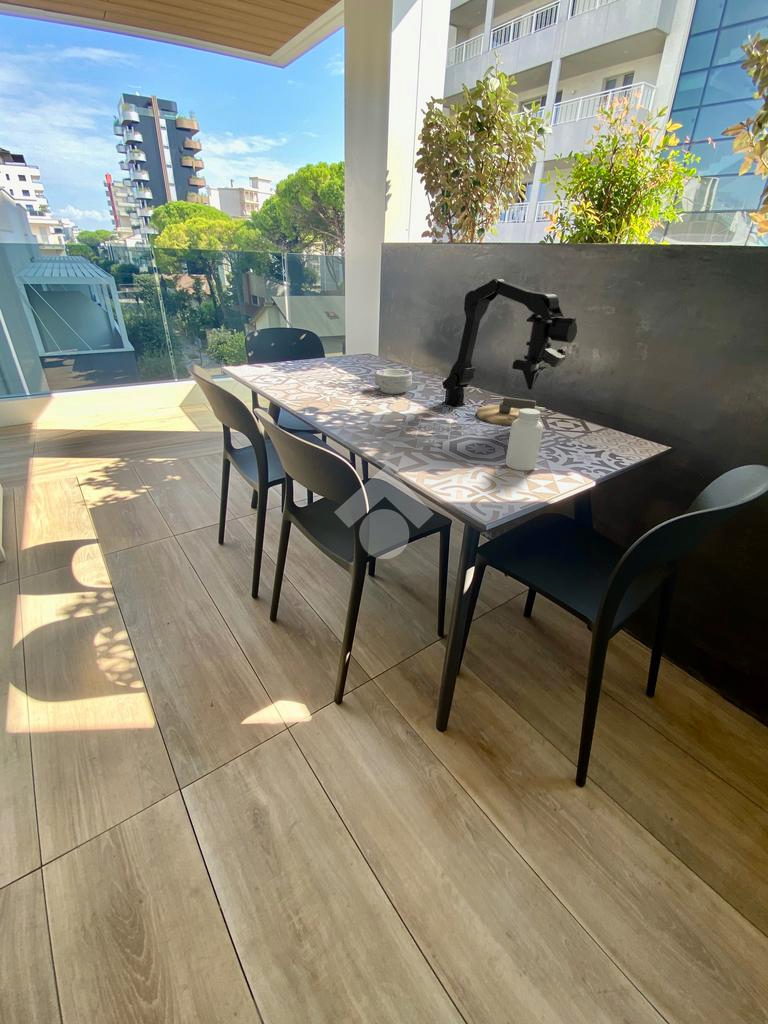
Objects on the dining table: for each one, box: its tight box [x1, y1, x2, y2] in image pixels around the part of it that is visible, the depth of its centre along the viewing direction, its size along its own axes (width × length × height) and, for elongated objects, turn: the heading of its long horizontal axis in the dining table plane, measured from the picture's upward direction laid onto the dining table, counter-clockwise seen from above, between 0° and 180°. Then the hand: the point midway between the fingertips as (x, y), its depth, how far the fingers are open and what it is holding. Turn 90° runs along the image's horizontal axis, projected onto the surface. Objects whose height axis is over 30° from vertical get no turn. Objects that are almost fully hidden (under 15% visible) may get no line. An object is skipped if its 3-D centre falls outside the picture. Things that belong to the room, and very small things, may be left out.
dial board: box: [476, 404, 520, 426], centre depth 159 cm, size 19×19×2 cm
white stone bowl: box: [374, 368, 413, 395], centre depth 185 cm, size 15×15×8 cm
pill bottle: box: [505, 408, 544, 472], centre depth 117 cm, size 8×8×15 cm
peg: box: [499, 396, 546, 413], centre depth 156 cm, size 15×4×5 cm, turn 68°
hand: (530, 389), depth 147 cm, fingers closed
